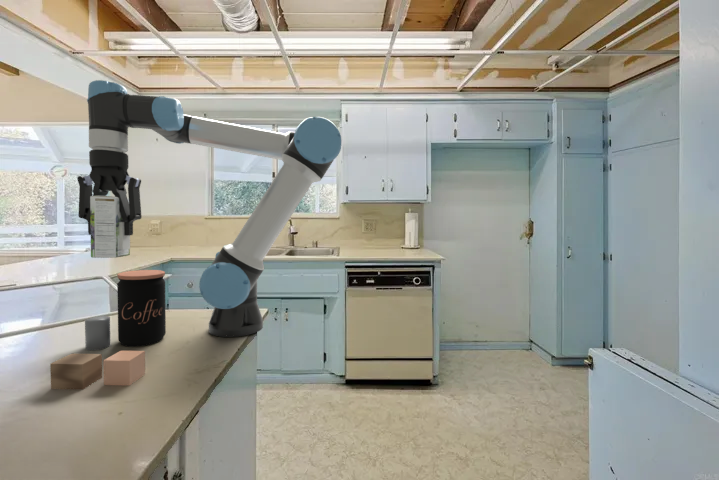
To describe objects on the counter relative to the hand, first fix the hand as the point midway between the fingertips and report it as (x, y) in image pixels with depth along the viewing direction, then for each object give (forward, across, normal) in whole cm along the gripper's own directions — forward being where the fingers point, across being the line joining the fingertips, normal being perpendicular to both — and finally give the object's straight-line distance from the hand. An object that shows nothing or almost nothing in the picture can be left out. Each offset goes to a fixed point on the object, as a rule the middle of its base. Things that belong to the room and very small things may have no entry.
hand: (111, 248), depth 84 cm
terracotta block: (+25, -13, +15) cm, 32 cm away
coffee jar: (+25, -3, -7) cm, 26 cm away
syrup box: (+2, 0, 0) cm, 2 cm away
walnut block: (+25, -5, +17) cm, 31 cm away
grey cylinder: (+25, +5, -2) cm, 25 cm away
